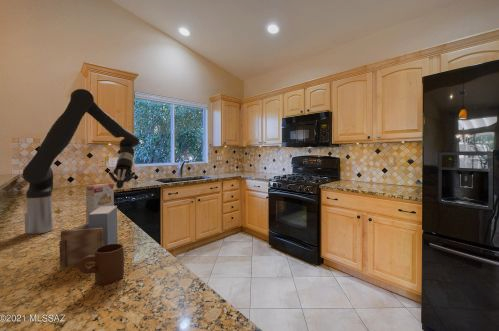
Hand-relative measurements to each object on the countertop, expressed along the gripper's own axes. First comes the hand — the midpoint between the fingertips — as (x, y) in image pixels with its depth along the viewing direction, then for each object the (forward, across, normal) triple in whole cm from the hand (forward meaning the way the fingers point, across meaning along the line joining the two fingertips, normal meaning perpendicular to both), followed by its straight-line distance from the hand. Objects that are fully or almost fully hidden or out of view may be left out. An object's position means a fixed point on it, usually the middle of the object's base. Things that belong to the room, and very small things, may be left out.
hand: (119, 187), depth 115 cm
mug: (+52, +7, -21) cm, 56 cm away
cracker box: (0, -14, +32) cm, 35 cm away
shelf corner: (+31, -3, -1) cm, 31 cm away
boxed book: (+33, +1, -2) cm, 33 cm away
